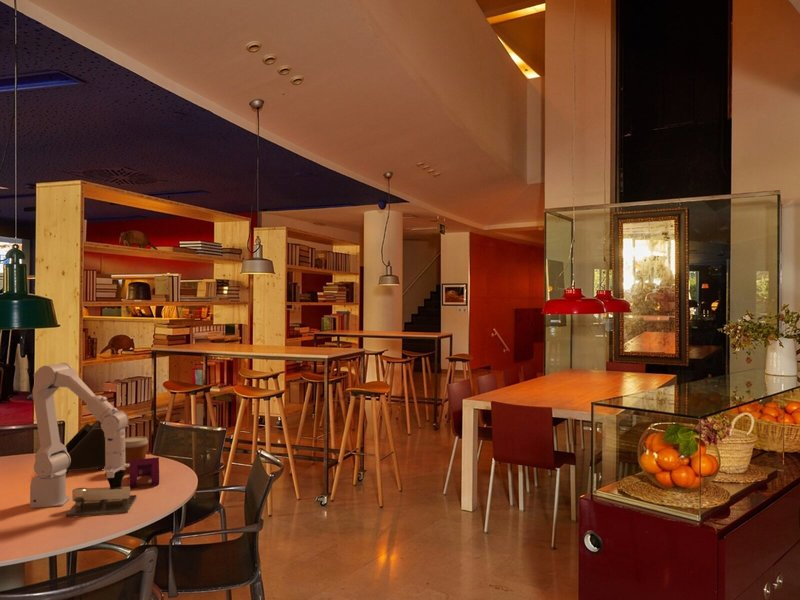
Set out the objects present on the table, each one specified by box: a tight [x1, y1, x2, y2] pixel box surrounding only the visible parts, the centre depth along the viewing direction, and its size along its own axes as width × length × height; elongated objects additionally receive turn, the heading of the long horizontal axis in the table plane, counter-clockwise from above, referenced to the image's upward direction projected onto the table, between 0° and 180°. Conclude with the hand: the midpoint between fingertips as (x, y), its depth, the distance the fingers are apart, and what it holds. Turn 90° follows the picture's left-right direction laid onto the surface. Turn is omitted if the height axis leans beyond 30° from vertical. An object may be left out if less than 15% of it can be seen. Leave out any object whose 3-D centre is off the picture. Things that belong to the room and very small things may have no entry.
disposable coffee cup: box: [124, 436, 149, 474], centre depth 230 cm, size 10×10×12 cm
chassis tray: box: [65, 494, 137, 518], centre depth 189 cm, size 17×14×3 cm
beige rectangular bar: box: [71, 486, 131, 502], centre depth 189 cm, size 16×4×3 cm, turn 96°
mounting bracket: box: [128, 456, 160, 488], centre depth 217 cm, size 9×8×18 cm
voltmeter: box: [65, 420, 105, 474], centre depth 235 cm, size 16×16×20 cm
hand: (115, 494), depth 191 cm, fingers closed, pressing on beige rectangular bar
